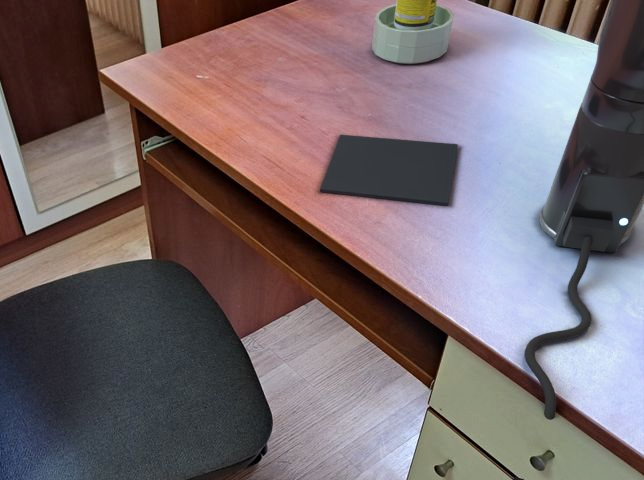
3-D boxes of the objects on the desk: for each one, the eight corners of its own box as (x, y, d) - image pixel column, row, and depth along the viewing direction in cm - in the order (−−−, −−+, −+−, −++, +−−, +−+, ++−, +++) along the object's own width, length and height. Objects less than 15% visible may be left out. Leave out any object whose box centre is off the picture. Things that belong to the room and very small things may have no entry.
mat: (447, 206, 81) (448, 202, 81) (319, 192, 86) (319, 188, 86) (457, 147, 90) (457, 144, 90) (339, 137, 95) (340, 134, 95)
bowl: (443, 67, 106) (450, 33, 102) (366, 64, 110) (370, 30, 106) (450, 36, 113) (456, 2, 109) (378, 33, 117) (381, 1, 113)
